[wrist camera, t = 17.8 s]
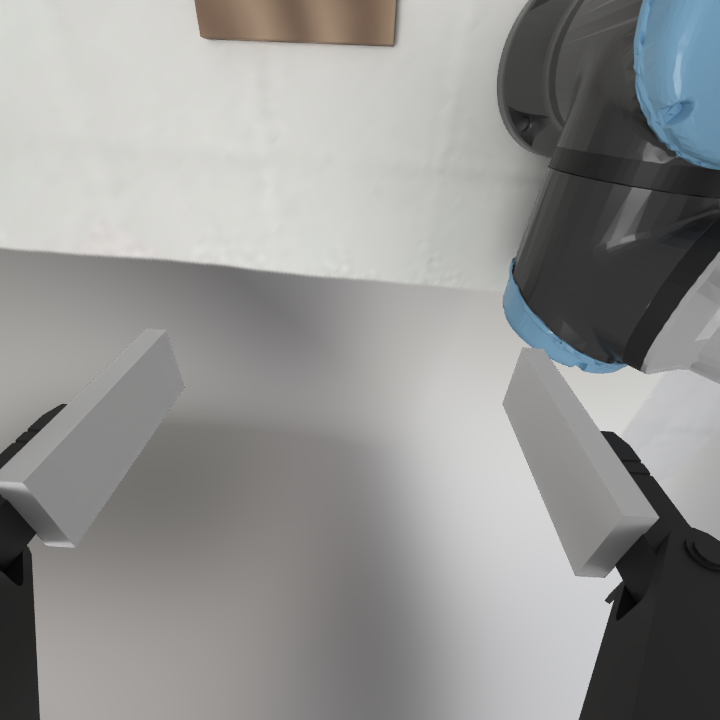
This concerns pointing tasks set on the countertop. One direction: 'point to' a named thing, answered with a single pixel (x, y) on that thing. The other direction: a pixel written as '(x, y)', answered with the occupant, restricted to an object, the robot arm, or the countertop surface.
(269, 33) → the bottle holder
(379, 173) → the countertop surface
